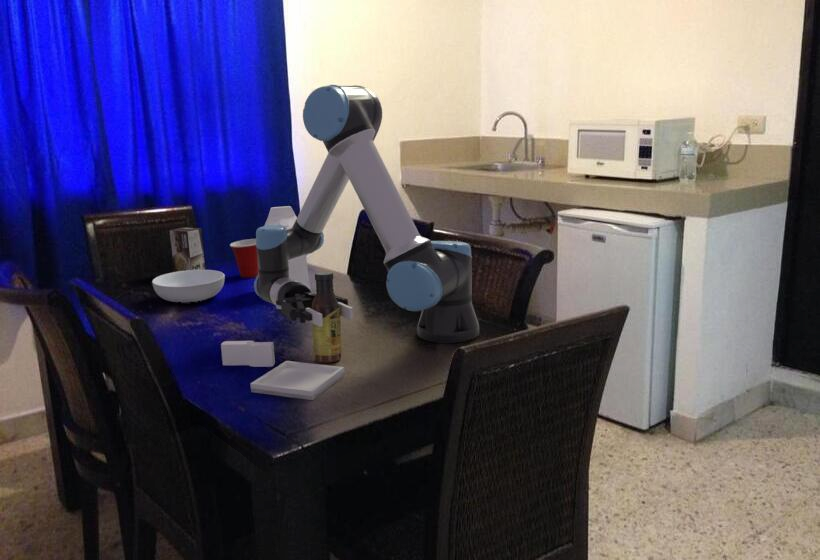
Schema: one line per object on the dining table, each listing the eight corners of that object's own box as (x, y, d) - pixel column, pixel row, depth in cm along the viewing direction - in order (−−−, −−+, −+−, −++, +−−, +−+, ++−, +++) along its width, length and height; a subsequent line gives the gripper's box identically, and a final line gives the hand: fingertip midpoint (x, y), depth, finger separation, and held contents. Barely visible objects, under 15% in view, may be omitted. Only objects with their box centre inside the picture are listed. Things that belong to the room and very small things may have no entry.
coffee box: (206, 274, 254) (202, 228, 250) (192, 278, 249) (187, 231, 245) (188, 272, 259) (183, 226, 255) (173, 276, 254) (168, 229, 250)
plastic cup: (231, 274, 254) (228, 239, 251) (263, 271, 257) (260, 237, 254) (233, 281, 243) (230, 245, 241) (266, 278, 246) (264, 242, 244)
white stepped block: (208, 367, 165) (206, 342, 164) (250, 353, 173) (248, 330, 172) (250, 381, 155) (248, 356, 154) (292, 366, 164) (290, 341, 162)
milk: (301, 284, 236) (296, 203, 230) (310, 292, 226) (304, 207, 220) (264, 288, 232) (257, 206, 226) (271, 297, 222) (264, 210, 216)
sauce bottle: (337, 364, 162) (332, 276, 158) (310, 363, 164) (304, 276, 159) (346, 355, 169) (341, 270, 164) (319, 353, 170) (314, 269, 165)
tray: (344, 375, 156) (344, 367, 156) (312, 400, 143) (312, 391, 143) (286, 368, 161) (286, 360, 161) (251, 392, 148) (250, 383, 148)
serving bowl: (140, 307, 215) (137, 284, 213) (178, 289, 234) (176, 268, 233) (205, 310, 210) (202, 286, 208) (238, 291, 229) (236, 270, 228)
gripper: (328, 304, 184) (376, 325, 166) (253, 318, 174) (295, 342, 155) (327, 274, 183) (375, 292, 164) (251, 287, 172) (293, 308, 153)
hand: (336, 317), depth 159 cm, fingers open, 7 cm apart
